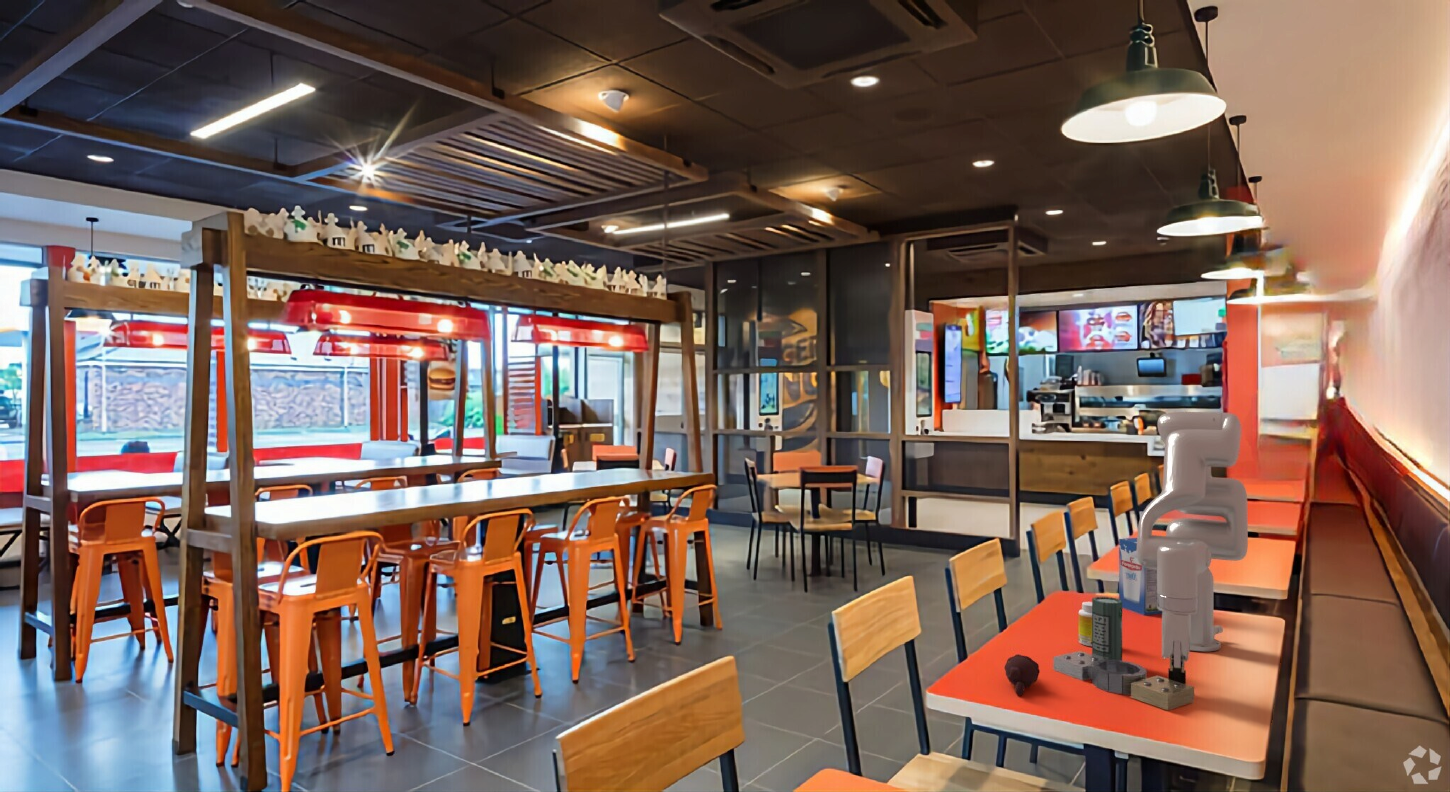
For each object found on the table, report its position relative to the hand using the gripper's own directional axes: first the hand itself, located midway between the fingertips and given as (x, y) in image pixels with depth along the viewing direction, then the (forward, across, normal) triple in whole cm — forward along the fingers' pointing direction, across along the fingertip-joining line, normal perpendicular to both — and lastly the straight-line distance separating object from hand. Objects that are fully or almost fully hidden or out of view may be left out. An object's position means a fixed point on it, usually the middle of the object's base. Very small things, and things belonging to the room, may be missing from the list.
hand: (1176, 688), depth 176 cm
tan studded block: (+1, +6, -3) cm, 7 cm away
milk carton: (+2, -68, -9) cm, 69 cm away
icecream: (+1, +10, -30) cm, 32 cm away
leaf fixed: (+1, -2, -15) cm, 15 cm away
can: (+1, -14, -14) cm, 20 cm away
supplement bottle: (+2, -28, -19) cm, 34 cm away
